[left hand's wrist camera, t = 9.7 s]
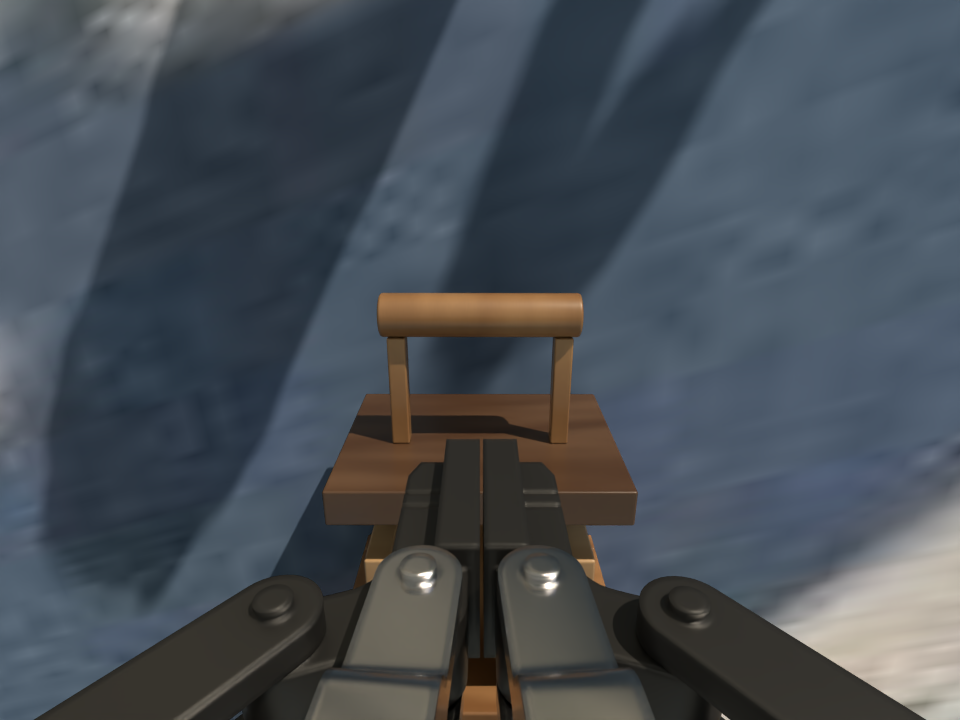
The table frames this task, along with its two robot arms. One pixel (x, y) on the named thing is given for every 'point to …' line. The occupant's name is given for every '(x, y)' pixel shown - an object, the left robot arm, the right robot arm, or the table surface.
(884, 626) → the table surface
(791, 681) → the left robot arm
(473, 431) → the drawer
